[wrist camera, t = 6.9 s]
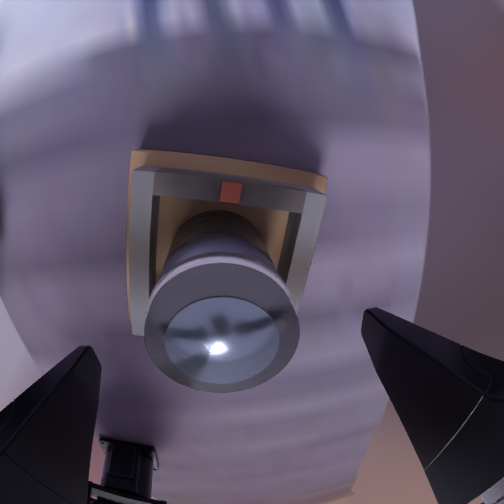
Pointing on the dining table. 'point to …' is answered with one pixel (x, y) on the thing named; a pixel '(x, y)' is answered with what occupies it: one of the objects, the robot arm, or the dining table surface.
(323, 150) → the dining table surface
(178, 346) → the lens
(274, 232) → the mount
